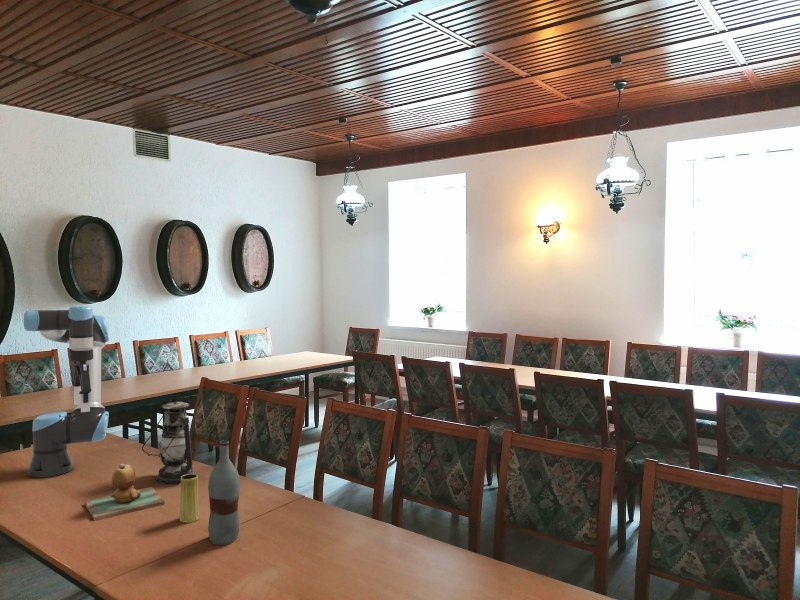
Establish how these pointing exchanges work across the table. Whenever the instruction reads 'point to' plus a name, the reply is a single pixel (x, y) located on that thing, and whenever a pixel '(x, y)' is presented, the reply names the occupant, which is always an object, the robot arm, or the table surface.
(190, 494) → the vase
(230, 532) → the bottle
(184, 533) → the table surface
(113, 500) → the green framed board
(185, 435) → the lantern
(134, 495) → the figurine
